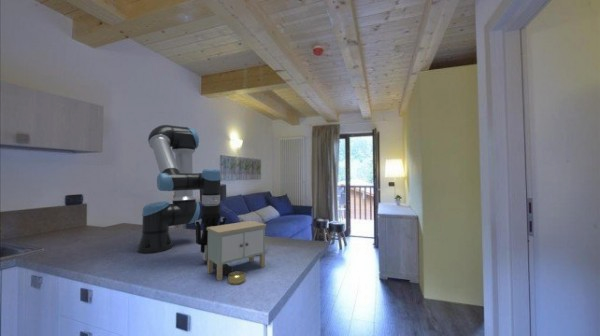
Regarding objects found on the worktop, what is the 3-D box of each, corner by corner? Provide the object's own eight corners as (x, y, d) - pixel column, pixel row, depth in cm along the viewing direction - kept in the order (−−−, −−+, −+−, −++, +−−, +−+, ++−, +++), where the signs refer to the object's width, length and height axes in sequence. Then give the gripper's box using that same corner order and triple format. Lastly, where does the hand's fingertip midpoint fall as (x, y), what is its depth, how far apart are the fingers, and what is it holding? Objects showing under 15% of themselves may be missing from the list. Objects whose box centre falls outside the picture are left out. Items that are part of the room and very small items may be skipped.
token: (224, 284, 85) (224, 277, 85) (233, 277, 91) (233, 270, 91) (240, 286, 84) (240, 279, 84) (248, 278, 89) (248, 272, 90)
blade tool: (203, 260, 105) (204, 233, 105) (212, 258, 108) (213, 231, 108) (223, 275, 91) (224, 243, 91) (233, 272, 94) (233, 241, 94)
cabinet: (205, 272, 95) (206, 227, 95) (252, 259, 109) (252, 220, 109) (218, 282, 86) (219, 232, 86) (267, 267, 100) (267, 224, 100)
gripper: (193, 207, 97) (192, 266, 97) (233, 203, 108) (232, 256, 108) (187, 205, 102) (186, 260, 102) (225, 202, 114) (224, 252, 114)
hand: (210, 258), depth 105 cm, fingers closed on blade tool, 4 cm apart
